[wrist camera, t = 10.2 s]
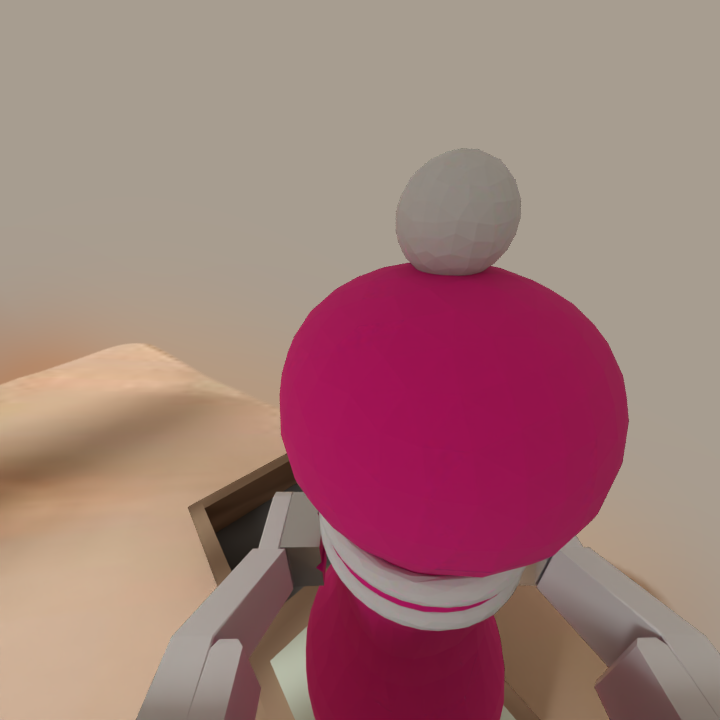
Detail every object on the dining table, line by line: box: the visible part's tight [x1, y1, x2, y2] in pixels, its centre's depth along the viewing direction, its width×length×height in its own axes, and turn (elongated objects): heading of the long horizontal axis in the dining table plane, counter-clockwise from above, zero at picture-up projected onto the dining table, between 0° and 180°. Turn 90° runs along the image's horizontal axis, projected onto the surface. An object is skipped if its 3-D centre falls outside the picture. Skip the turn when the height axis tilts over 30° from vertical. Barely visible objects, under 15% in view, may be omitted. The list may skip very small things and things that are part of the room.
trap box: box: [188, 454, 540, 720], centre depth 17 cm, size 24×20×4 cm
